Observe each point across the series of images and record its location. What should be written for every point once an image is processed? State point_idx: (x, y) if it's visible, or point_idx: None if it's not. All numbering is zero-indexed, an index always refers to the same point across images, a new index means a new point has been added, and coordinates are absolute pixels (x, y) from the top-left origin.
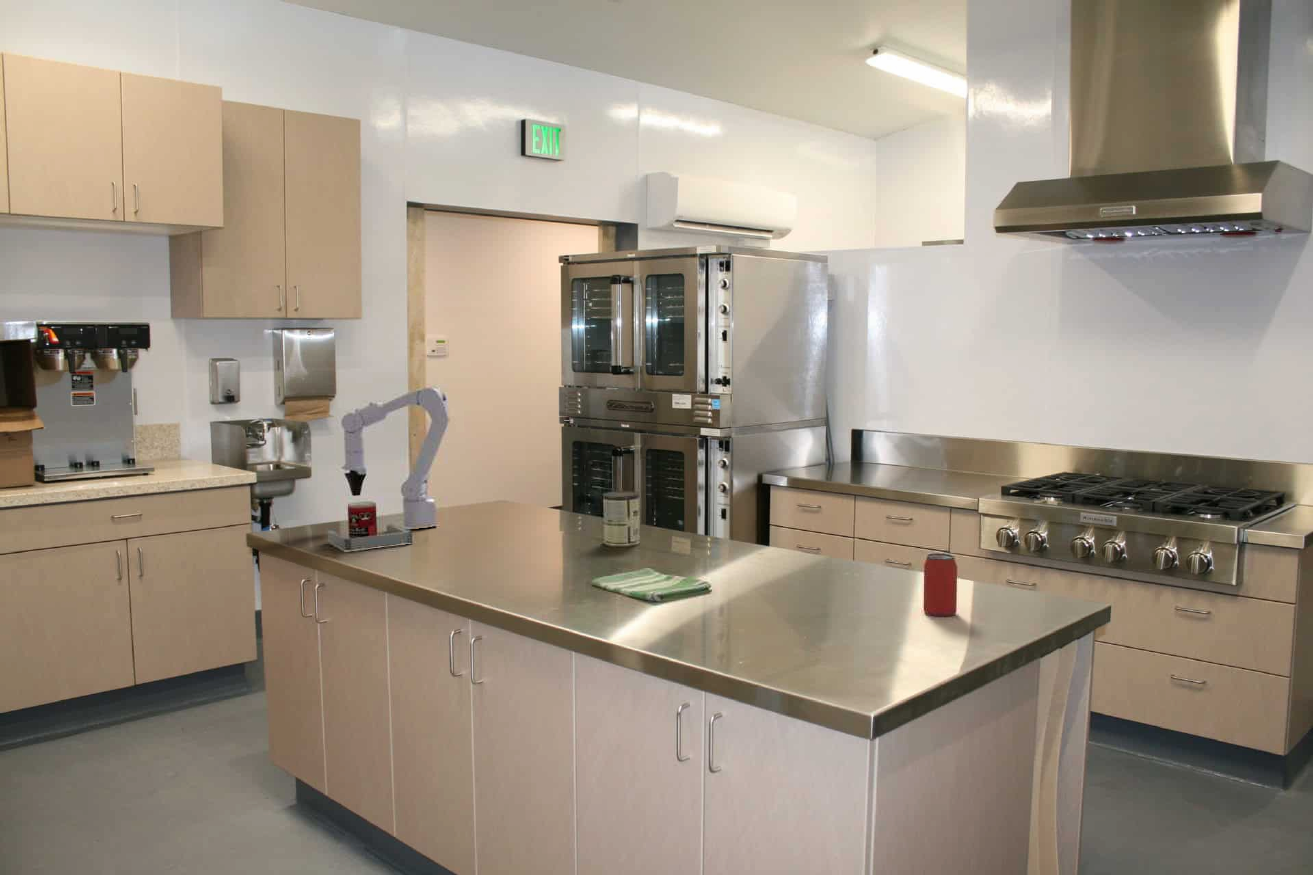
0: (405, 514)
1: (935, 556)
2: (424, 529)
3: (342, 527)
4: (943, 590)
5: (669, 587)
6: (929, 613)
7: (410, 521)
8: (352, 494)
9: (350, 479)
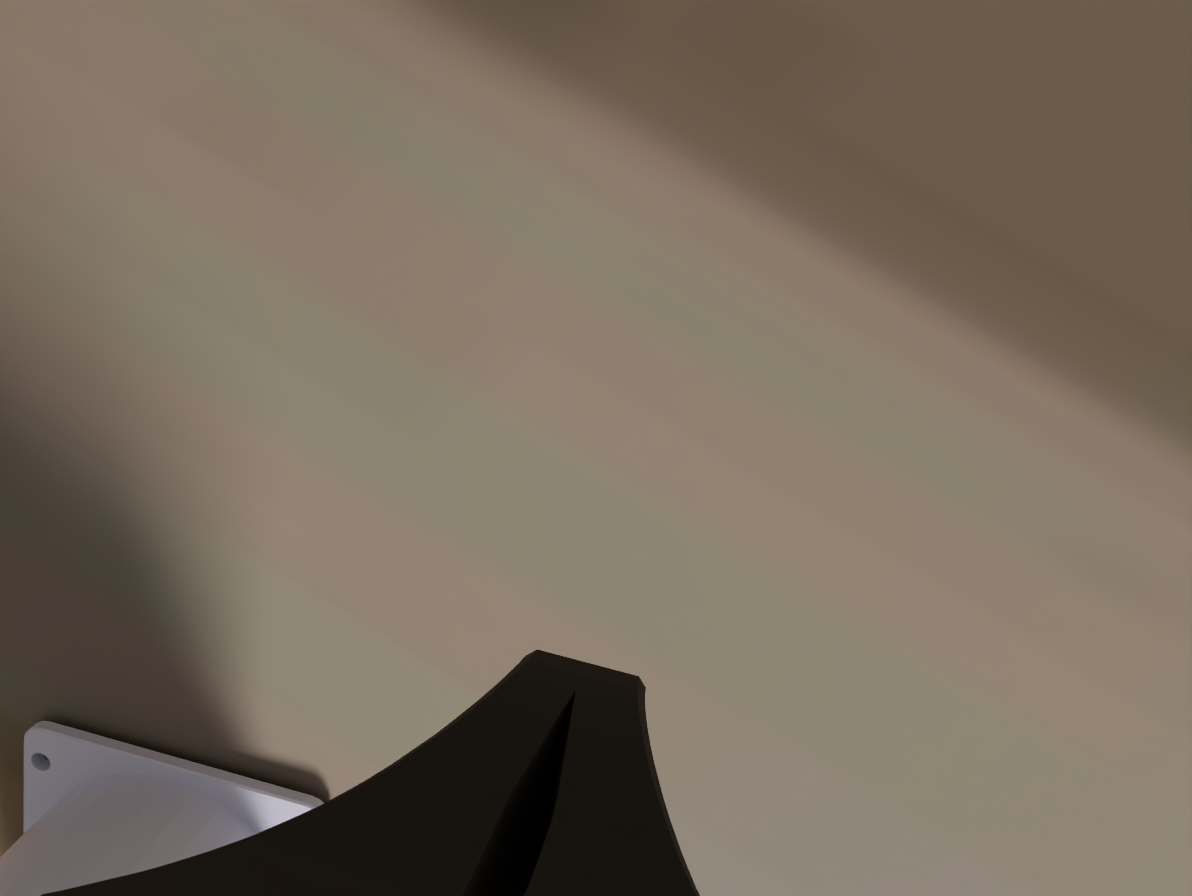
0: (33, 891)
1: None
2: None
3: (961, 362)
4: None
5: None
6: None
7: (24, 838)
8: (587, 670)
9: (198, 858)
